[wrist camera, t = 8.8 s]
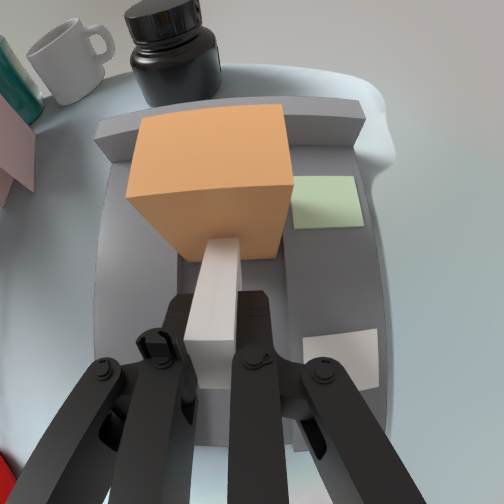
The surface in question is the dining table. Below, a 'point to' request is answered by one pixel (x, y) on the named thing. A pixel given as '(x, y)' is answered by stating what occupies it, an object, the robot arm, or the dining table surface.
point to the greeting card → (15, 151)
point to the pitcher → (18, 85)
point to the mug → (70, 60)
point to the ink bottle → (173, 52)
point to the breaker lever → (214, 178)
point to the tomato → (5, 481)
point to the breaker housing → (258, 270)
